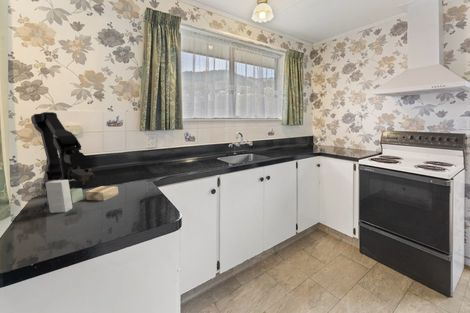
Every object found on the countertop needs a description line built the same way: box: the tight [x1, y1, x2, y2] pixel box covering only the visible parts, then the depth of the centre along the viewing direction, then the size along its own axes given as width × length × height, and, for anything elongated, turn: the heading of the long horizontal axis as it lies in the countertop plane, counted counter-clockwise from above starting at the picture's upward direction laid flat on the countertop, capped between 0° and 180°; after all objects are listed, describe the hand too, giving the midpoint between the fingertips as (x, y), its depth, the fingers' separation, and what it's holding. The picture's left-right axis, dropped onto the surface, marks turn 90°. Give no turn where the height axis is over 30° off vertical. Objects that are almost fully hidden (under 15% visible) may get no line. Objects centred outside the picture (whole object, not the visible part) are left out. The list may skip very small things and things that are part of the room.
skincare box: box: [45, 180, 73, 214], centre depth 88 cm, size 6×4×12 cm
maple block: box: [85, 185, 119, 202], centre depth 105 cm, size 9×9×4 cm
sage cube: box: [70, 187, 84, 204], centre depth 100 cm, size 5×5×5 cm
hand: (73, 198), depth 100 cm, fingers closed on sage cube, 5 cm apart
